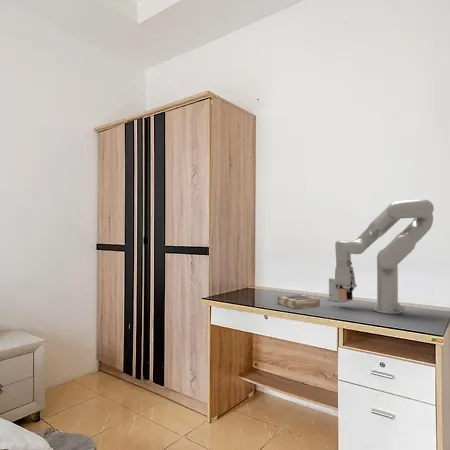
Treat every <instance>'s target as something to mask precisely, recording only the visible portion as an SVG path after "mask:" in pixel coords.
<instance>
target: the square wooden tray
mask: <svg viewBox="0 0 450 450" xmlns="http://www.w3.org/2000/svg"><path fill="white" fill-rule="evenodd" d="M277 305H281V306H284V307H288V308H290V309H294V310H300V309H309V308H310V309H311V308H316V307H317V308H318V307H320V305H321V304H320V298H318V297H313V296H310V295H309V296H308V295H305V294H299V293H298V294H290V295H281V296H279V295H278V296H277Z"/></svg>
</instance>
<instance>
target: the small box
mask: <svg viewBox="0 0 450 450" xmlns="http://www.w3.org/2000/svg"><path fill="white" fill-rule="evenodd" d="M334 281H335V277H330V278H329V277H328V301H332V302H333V301H334V302H338V303H344V302H345V301H341V300H339V299H338V290H337V288H336V286H335V285H334ZM340 287H341V286H340ZM343 288H347V287H346V286H343Z"/></svg>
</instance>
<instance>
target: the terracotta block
mask: <svg viewBox="0 0 450 450" xmlns="http://www.w3.org/2000/svg"><path fill="white" fill-rule="evenodd" d="M349 289H350V287H349ZM347 292H348V291H347V288H340V289H338V299H339V300H341V301H344V302H350V301H353V299H354V298H353V296H352V299H349V300H348V299H347Z"/></svg>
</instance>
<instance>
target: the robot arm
mask: <svg viewBox="0 0 450 450" xmlns="http://www.w3.org/2000/svg"><path fill="white" fill-rule="evenodd" d="M434 208H435V207H434V204H433V203H432V201H430V200H428V199H413V200H412V199H411V200H397V201H396V200H395V201H392V202H390V204H388V206H386V208H385V209H383V211H382V212H380V214H379V215H378V216H377V217H376V218H374V219H373V220H372V221H371V222H370V223H369V225H368V226H367V228H366V229H365V230H364V231H363V232H362V233H361V234H360V235H358V237H357V238H356V239H354V240H336V242H335V243H334V246H335V260H336V261H335V263H336V264H335V272H334V278H335V281H334V285H335V286H336V288H337V290H338V289H340V288H343V286H346V287H347V291H348V292H347V299H348V300H349V299H352V297H353V292H354V290H355V288H356V287H358V286H357V283H356V276H355V271H354V268H353V266H352V265H353V262H352V255H361V254H363V253H365V251H366V250H367V249H369V247H370V246H371V245H372V244H374V243H375V242H376V241H377V240H378V239H379V238H381V237H382V236H384V235H385V234H386V233H387V232H388V231H390V229H391V228H393V226H395V225H396V224H397V223H398V222H399V221H400V220H401V219H413V220H412V221H411V222H410V223H409V224H408V225H407V226H406V227H405V228H404V229H403V230H402V231H401V232H400V233H398V234H397V235H396V236H395V237H394V238H393V239H392V240H391V241H390V242H389V243H388V244H387V245H386V246H385V247H384V248H383V249H380V250H379V251H378V253H377V256H376V284H377V285H376V292H377V293H376V296H377V297H376V303H377V305H376V306H375V307H374V308H373V311H375V312H376V313H381V314H386V315H387V314H388V315H389V314H390V315H396V314H397V315H398V314H401V313H402V312H404V311H405V307H404V306H401V303H399V293H398V292H399V288H398V287H399V284H398V283H399V282H398V281H399V276H398V275H399V267H398V266H399V264H400V263H401V262H402V261H403V260H404V259H405V258H407V256H409V254H411V253H412V252H413V251H414V249H416V248H415V247H416V246H417V245H416V244H417V243H419V242H420V240H422V239H423V237H425V236H426V235H427V233H428V232H429V231H430V230H431V229H432V226H433V222H434V215H433V212H434V211H435V209H434ZM340 286H341V287H340ZM349 288H350V289H349Z"/></svg>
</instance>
